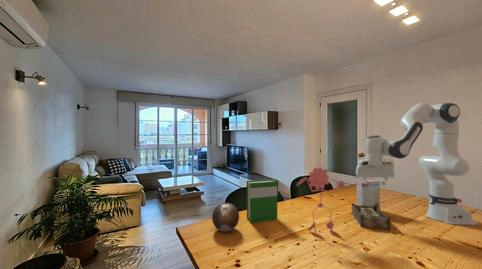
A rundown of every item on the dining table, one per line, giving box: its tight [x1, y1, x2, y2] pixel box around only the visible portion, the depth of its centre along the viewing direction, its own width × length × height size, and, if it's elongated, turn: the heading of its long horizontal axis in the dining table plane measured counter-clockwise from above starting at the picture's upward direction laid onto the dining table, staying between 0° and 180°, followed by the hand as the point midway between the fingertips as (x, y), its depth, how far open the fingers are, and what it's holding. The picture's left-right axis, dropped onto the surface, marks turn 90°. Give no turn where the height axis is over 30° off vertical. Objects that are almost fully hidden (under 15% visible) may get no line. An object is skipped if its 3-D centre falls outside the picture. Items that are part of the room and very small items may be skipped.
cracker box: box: [356, 179, 381, 210], centre depth 144 cm, size 14×6×21 cm, turn 100°
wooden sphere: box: [211, 202, 240, 232], centre depth 116 cm, size 15×15×15 cm
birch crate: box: [361, 208, 379, 218], centre depth 127 cm, size 6×12×5 cm, turn 165°
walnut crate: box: [351, 202, 391, 231], centre depth 127 cm, size 15×21×7 cm
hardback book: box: [246, 178, 278, 224], centre depth 131 cm, size 18×7×24 cm, turn 105°
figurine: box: [295, 166, 346, 236], centre depth 117 cm, size 15×26×35 cm, turn 96°
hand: (374, 184), depth 128 cm, fingers open, 8 cm apart
